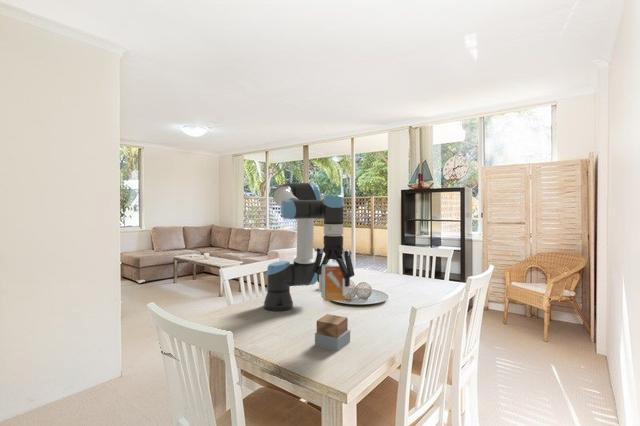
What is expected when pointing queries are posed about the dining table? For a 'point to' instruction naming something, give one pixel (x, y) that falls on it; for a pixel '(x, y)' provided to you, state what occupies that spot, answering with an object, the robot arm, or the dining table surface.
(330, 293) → the small box
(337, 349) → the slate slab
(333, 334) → the brown wooden block
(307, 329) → the dining table surface
